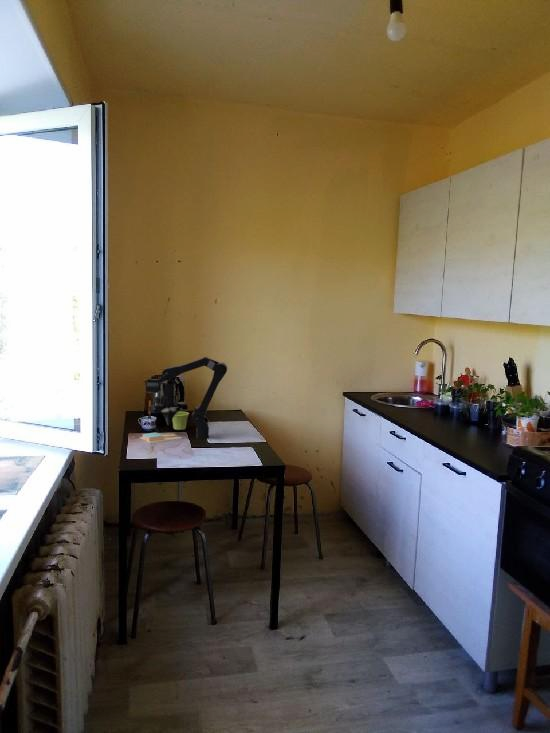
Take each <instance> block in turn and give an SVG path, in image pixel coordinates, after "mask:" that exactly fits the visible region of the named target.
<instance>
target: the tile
mask: <svg viewBox="0 0 550 733" xmlns="http://www.w3.org/2000/svg"><path fill="white" fill-rule="evenodd" d="M160 434H161V433H158V432H150V433H143V434H142V437H143V439H145V440H147V441H146V442H148V441H149V442H148V443H150V442H151V441H157V440H163V435H160ZM143 439H142V440H143ZM145 440H144V441H145Z"/></svg>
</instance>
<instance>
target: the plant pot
mask: <svg viewBox="0 0 550 733" xmlns="http://www.w3.org/2000/svg"><path fill="white" fill-rule="evenodd" d="M189 415H190V413H189V412H187V411H178V412H176V414H175V415H174V417H173V419H172V428H173V429H174V430H177V431H180V430H182V431H183V430H186V428H187V422H188V417H189Z"/></svg>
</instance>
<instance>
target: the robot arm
mask: <svg viewBox="0 0 550 733" xmlns="http://www.w3.org/2000/svg"><path fill="white" fill-rule="evenodd" d="M203 367H206V368H207V369H210V370H212V371H213V375H212V379H211V381H210V384H209V386H208V388H207V390H206V391H205V392H206V393H205V394H204V396H203V399H202V401H201V403H200V404H199V406H197V405H196V406H195V408H194V411H193V412H192V414H191V421H192V423H193V424H195V426H196V432H195V437H196V439H198V440H207V439H209V434H210V433H209V432H210V427H209V426H208V425H209V423H210V420H209V419H208V418H207V417H206V415H207V411H208V409H209V408H208V407H209V405H210V403H211V401H212V399H213V396H214V394H215V392H216V390H217V388H218V386H219V383H220V382H221V381H222V379H223V378H224V377H225V375H226V373H227V371H228V365H227V363H225V362H219V361H217V360H214V359H212V358H209V357H208V356H203V357H202V358H199V359H196V360H193V361H189V362H187V363H184V364H183V363H182V364H180V365H173V366H168V367H166V368H164V369H163V370H162V372H161V376H160V377H159V378H148V379H147V382H146V386H145V387H146V388H145V390H146V393H147V394H160V392H162V394H161V395H160V397H159V396H155V397H153V400H152V401H153V404H152V405H149V406H148V412H150V413H152V414H159V413H160V414H161V413H162V415H163V417H164V419H165V422H166V425H167V426H171V423H172V422H173V420H172V419H173V417H174V415H175V414H176V412H179V410H177V409H181V411H182V410H183V411H185V410H189V405H188V403H187V402H183V401H181V402H179V401H178V402H175V401H176V400H175V399H177V395H176V393H175V392H176V390H175V388H176V385H179V383H180V381H178V380H177V378H176V377H178V376H180V375H181V374H184V373H187V372H189V371H193V370H196V369H199V368H203ZM174 378H175V379H174ZM173 379H174V380H173Z"/></svg>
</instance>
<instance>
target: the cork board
mask: <svg viewBox="0 0 550 733" xmlns="http://www.w3.org/2000/svg"><path fill="white" fill-rule="evenodd" d="M159 434H160V435H163V440H157V441H151V442H149V441H147V440H145V439H143V436H139V439H142V440H144V441H146V442H148V443H150V444H154V443H155V444H156V443H160V442H166V441H172V440H173V441H174V440H180V439H183V437H181V436H179V435H177V434H175V433H172V432H166V433H159Z"/></svg>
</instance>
